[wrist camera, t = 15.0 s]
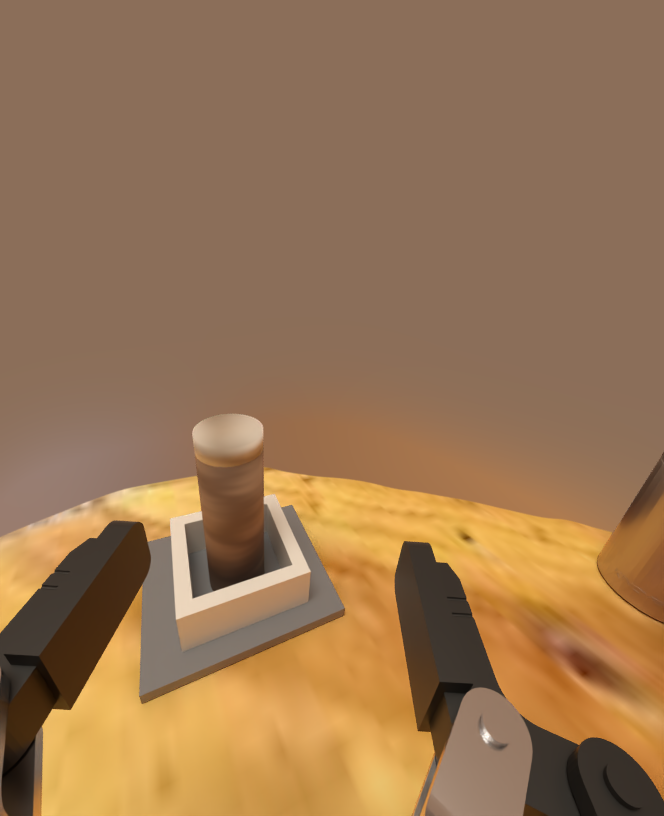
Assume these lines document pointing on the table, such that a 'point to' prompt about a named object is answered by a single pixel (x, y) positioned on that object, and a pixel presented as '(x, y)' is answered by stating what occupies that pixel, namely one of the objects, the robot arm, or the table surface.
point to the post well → (227, 601)
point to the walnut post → (231, 496)
